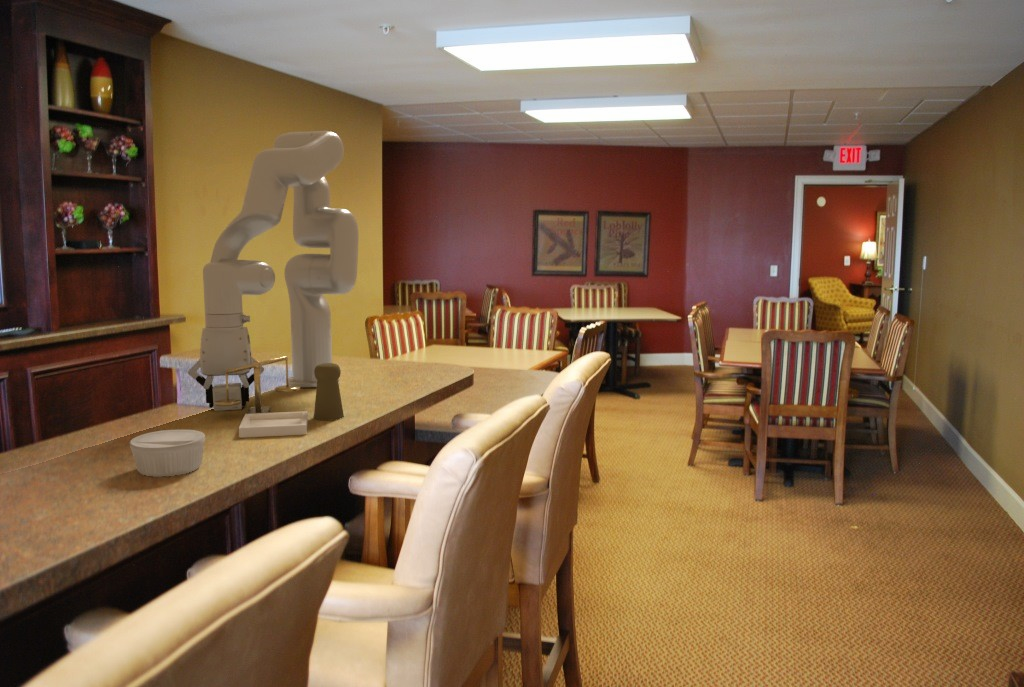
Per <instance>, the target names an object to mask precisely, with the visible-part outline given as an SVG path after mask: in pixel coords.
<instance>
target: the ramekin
mask: <svg viewBox="0 0 1024 687" xmlns="http://www.w3.org/2000/svg"><path fill="white" fill-rule="evenodd" d="M205 442H206V435H205V433H204V432H202V431H200V430H194V429H165V430H157V431H151V432H147V433H144V434H140V435H137V436H134V438H132V439H131V440H130V441H129V448H130V450H131V451H132V456H133V461H134V463H135V467H136V470H137V471H138V473H139V474H140V475H141V476H144V475H146V476H145V477H148V476H153V477H152V478H163V477H162V476H171V477H176V476H175V475H178V476H182V475H181V474H183V475H186V473H187V474H190V473H193V472H194V471H196V470H197V469H198V468H199V467H200V466H201V465H202V463H203V462H202V461H203V454H204V448H205V447H204V446H205V445H204V444H205ZM192 471H193V472H192ZM189 472H190V473H189Z"/></svg>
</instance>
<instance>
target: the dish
mask: <svg viewBox="0 0 1024 687" xmlns="http://www.w3.org/2000/svg"><path fill="white" fill-rule="evenodd" d="M308 425H309V411H307V410H306V411H305V410H304V411H284V412H282V411H281V412H270V413H254V414H247V413H245V414H244V416H243V418H242V420H241V422H240V425H239V426H238V438H242V439H243V438H259V437H260V438H261V437H262V438H263V437H278V436H283V437H285V436H286V437H287V436H301V435H302V436H304V435H305V436H306V435H307V433H308Z"/></svg>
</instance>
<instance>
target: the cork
mask: <svg viewBox="0 0 1024 687" xmlns="http://www.w3.org/2000/svg"><path fill="white" fill-rule="evenodd" d="M341 372H342V371H341V367H340V366H339V365H338V364H337V363H333V362H332V363H323V364H319V365H317V366H316V367H315V370H314V374H315V378H316V379H317V387H316V388H315V389H316V391H315V400H314V410H313V419H314V420H317V421H336V420H335V419H337V420H340V418H341V419H343V418H344V417H345V415H344V410H343V404H342V396H341V390H340V383H339V382H338V379H339V380H340V377H341V374H342V373H341ZM342 417H343V418H342Z"/></svg>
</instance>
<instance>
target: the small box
mask: <svg viewBox="0 0 1024 687" xmlns="http://www.w3.org/2000/svg"><path fill="white" fill-rule="evenodd" d="M212 387H213V389H212V390H213V404H214V406H213V411H214V412H222V411H223V412H224V411H237V410H238V411H239V410H242V408H243V406H242V400H241V388H242V382H231V383H229V382H228V393H229V399H239V400H241V403H240V404H238V405H232V406H217V405H215V401H218V400H223V399H227V395H226V383H216V384H215V383H214V384H213V386H212Z"/></svg>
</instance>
